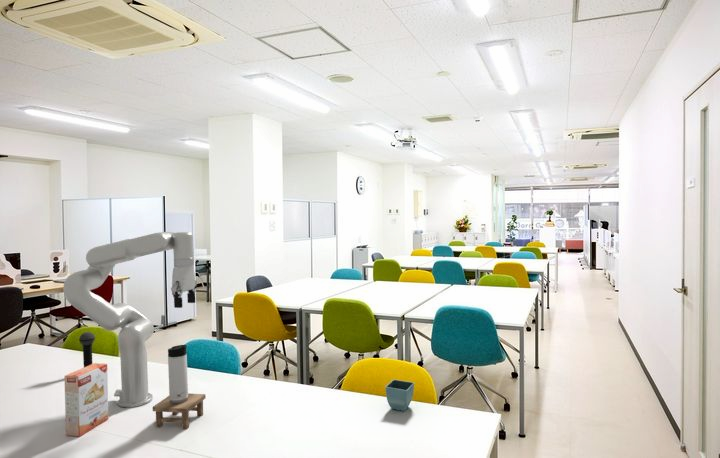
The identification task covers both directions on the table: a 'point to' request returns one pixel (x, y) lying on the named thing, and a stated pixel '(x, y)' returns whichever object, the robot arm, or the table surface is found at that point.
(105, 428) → the table surface
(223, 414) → the table surface
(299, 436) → the table surface
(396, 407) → the flower pot
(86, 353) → the microphone
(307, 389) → the table surface
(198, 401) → the stool
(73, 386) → the cracker box
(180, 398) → the travel mug
